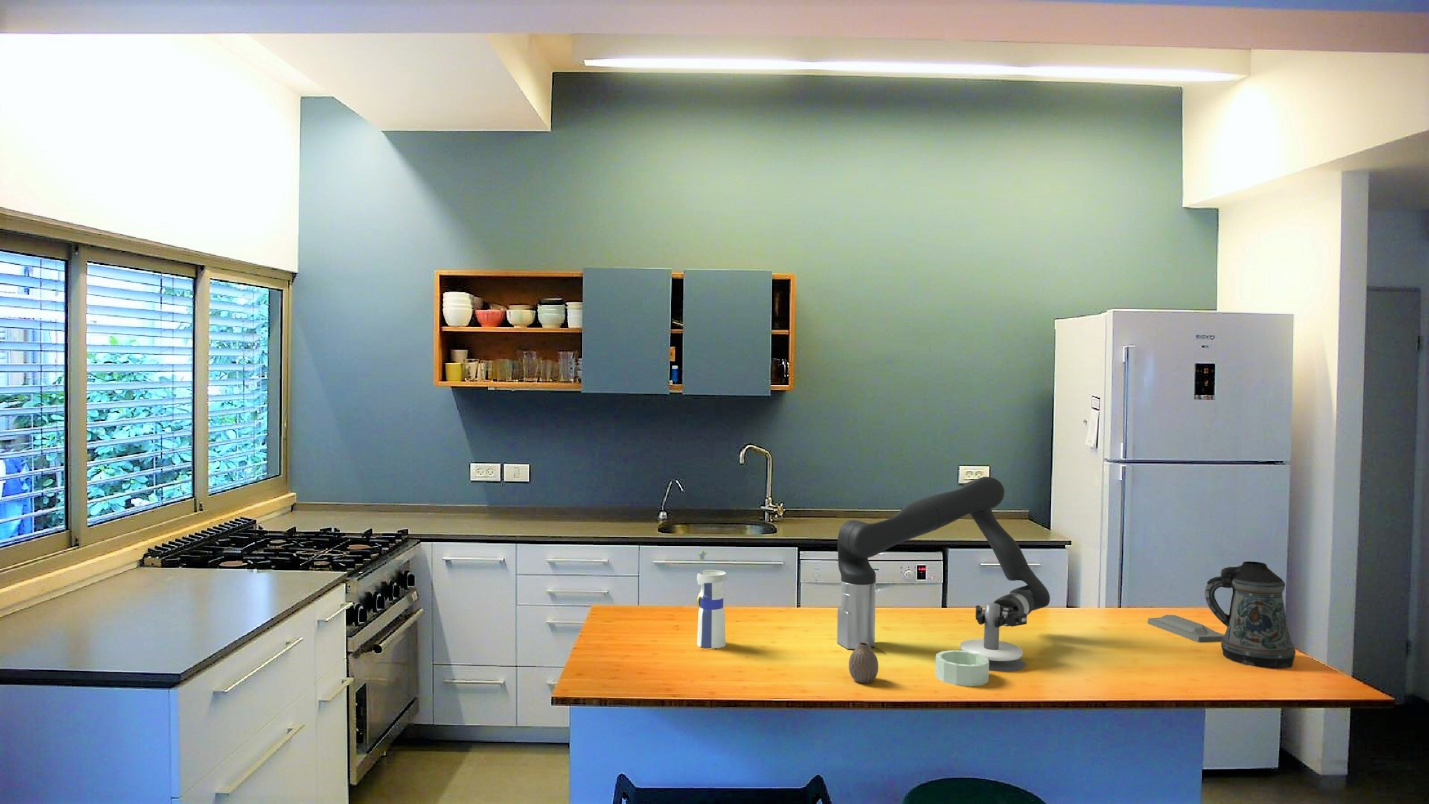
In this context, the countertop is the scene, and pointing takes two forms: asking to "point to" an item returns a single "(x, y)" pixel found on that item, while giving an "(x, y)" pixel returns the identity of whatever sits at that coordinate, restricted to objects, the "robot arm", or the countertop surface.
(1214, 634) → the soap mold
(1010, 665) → the mat
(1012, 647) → the lid
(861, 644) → the vase
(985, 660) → the bowl
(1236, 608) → the beer stein
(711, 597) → the water bottle
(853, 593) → the robot arm
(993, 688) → the countertop surface
